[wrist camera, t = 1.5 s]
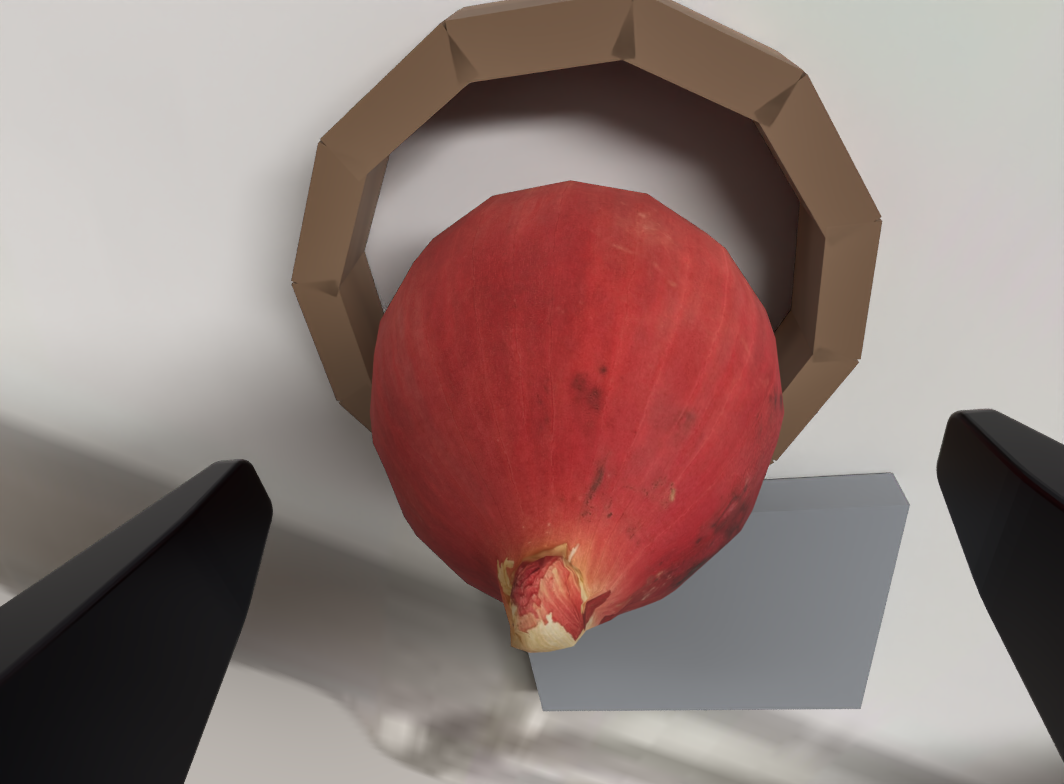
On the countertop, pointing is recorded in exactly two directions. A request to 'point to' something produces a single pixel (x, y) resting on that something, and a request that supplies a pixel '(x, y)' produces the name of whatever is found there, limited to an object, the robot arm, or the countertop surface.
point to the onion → (575, 403)
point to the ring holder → (577, 40)
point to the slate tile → (753, 613)
